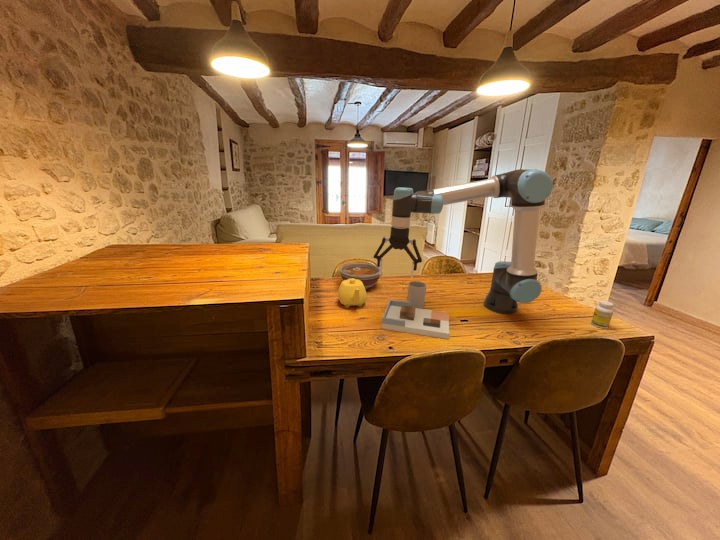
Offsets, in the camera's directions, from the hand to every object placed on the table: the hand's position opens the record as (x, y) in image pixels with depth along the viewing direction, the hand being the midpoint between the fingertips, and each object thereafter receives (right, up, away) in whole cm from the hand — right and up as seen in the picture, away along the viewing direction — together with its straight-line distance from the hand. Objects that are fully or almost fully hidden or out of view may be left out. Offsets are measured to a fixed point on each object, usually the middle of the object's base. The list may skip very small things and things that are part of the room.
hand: (395, 275), depth 129 cm
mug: (+12, -14, +20) cm, 28 cm away
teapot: (-19, -15, +17) cm, 30 cm away
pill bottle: (+91, -22, +4) cm, 94 cm away
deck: (+9, -20, +1) cm, 22 cm away
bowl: (-15, -7, +41) cm, 44 cm away
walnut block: (+5, -18, +2) cm, 19 cm away
